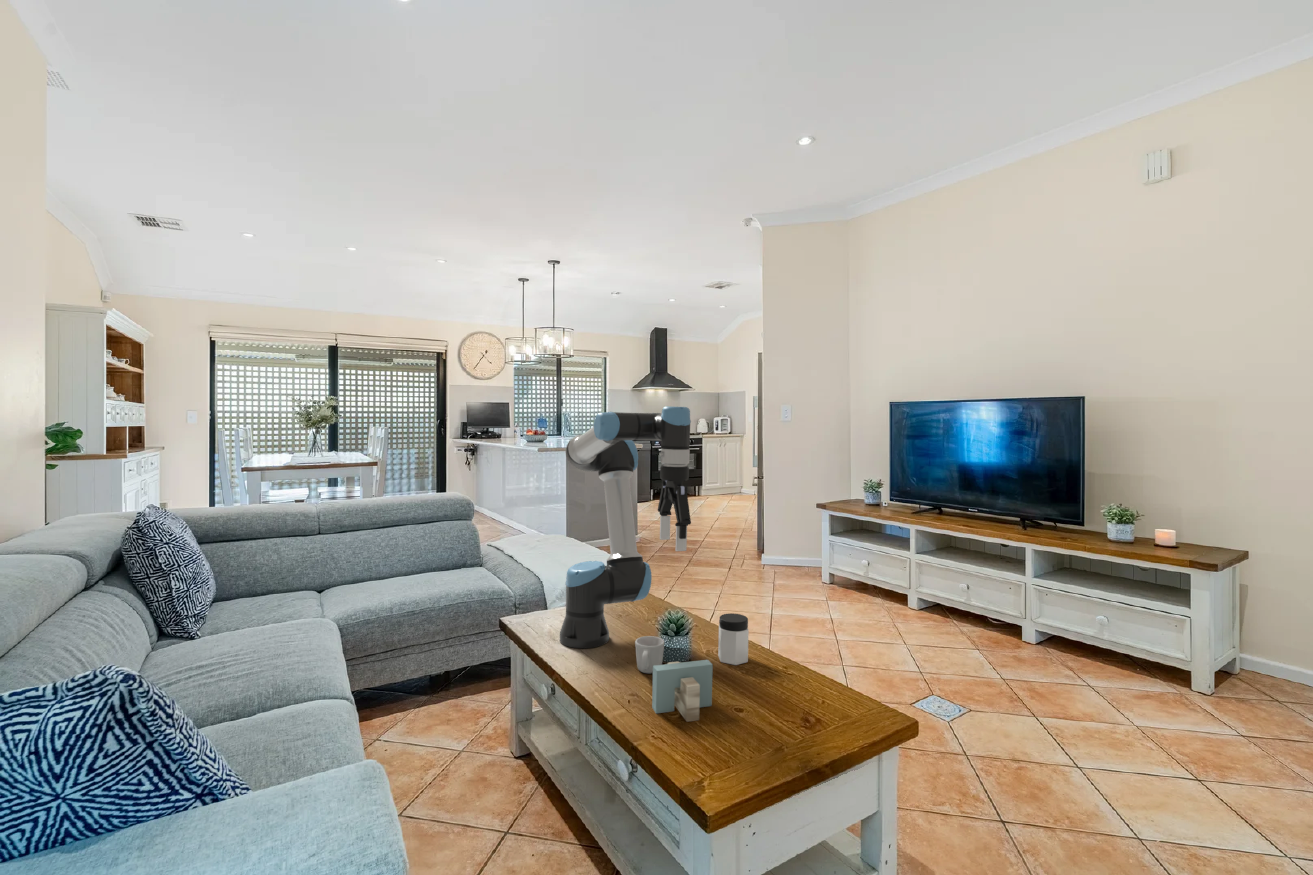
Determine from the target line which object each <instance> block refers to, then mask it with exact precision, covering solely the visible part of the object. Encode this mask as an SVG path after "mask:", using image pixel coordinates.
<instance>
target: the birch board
mask: <svg viewBox="0 0 1313 875" xmlns="http://www.w3.org/2000/svg"><path fill="white" fill-rule="evenodd" d="M674 663H681V662H680V661H671V662H667V663H666V664H674ZM699 703H700V685H699V684H698V683H697V681H696V680H695V679H694V678H693V677H690V678H681V685H680V687H677V688H675V701H674V707H675V708H676V709H677V711H678V712H679V713H680V715H681V716H682V718H683V719H684V720H685V722H689V723H690V722H694V721H695V722H696V721H700V708H699Z"/></svg>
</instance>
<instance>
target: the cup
mask: <svg viewBox="0 0 1313 875" xmlns="http://www.w3.org/2000/svg"><path fill="white" fill-rule="evenodd" d="M634 645H635V656H636V666H637V669H638V671H640V672H641V673H643V674H653V666H656V665H663V660H664V659H663V657H664V651H665V650H664V649H665V640H664V639H663V638H661V637H659V636H656V635H655V636H653V635H645V636H640V637H638V638H636V640H635V641H634Z"/></svg>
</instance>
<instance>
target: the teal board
mask: <svg viewBox="0 0 1313 875" xmlns="http://www.w3.org/2000/svg"><path fill="white" fill-rule="evenodd" d="M713 669H714V668H713V663H712V662H711V661H710V660H709V659H701V660H693V661H685V662H684V661H683V662H680V663H674V664H667V663H666V664H662V665H656V666H653V673H652V694H651V695H652V697H651V698H652V699H651V700H652V701H651V708H652V710H653V711H654V713H655V714H661V713H669V712H675V705H674V701H675V688H677V687H680V685H681V678H690V677H693V678H694V679H695V680H696V681H697V683H698V684H699V685H700V703H699V709H700V708H704V707H705V708H707V707H712V706H713V705H712V704H713V671H714V670H713Z"/></svg>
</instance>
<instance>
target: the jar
mask: <svg viewBox="0 0 1313 875" xmlns="http://www.w3.org/2000/svg"><path fill="white" fill-rule="evenodd" d="M718 623H719V624H718V649H717V651H718V652H717V653H718V654H717V657H718V659H719V661H720V662H721V663H724V664H728V665H733V666H739V665H741V664H742V665H743V664H745V663H748V662H749V619H748V617H747V616H746V615H744V614H740V613H724V614H722V615H720V616H719V622H718Z"/></svg>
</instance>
